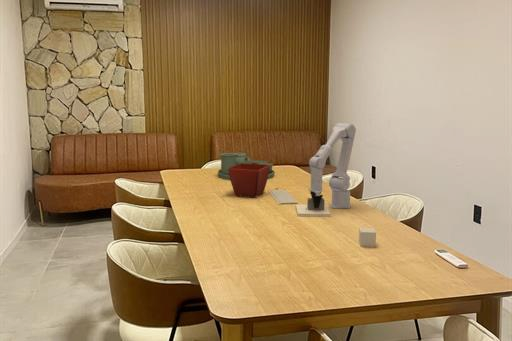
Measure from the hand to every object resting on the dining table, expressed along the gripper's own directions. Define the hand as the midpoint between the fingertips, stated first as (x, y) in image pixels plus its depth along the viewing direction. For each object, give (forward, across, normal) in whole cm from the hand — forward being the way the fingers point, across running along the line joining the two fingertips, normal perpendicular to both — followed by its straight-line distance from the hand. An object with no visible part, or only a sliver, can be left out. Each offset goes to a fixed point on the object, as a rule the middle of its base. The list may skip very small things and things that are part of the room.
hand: (315, 206), depth 248 cm
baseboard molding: (+4, -31, -16) cm, 35 cm away
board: (+3, 0, -2) cm, 3 cm away
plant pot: (+3, -38, -35) cm, 52 cm away
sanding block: (+1, 0, 0) cm, 1 cm away
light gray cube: (+3, +50, +15) cm, 52 cm away
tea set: (+3, -97, -38) cm, 104 cm away
